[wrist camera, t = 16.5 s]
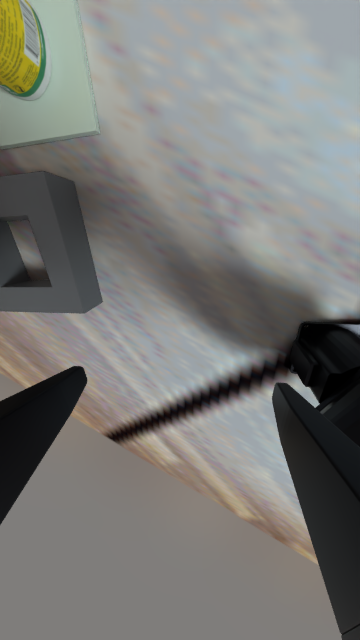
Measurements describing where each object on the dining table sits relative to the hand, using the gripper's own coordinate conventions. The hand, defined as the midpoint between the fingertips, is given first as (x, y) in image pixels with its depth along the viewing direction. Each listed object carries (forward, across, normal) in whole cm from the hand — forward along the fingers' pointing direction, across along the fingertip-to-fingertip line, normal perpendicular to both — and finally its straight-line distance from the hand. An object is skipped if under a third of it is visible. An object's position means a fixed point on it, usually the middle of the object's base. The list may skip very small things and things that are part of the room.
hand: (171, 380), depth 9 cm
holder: (+13, +18, -5) cm, 22 cm away
